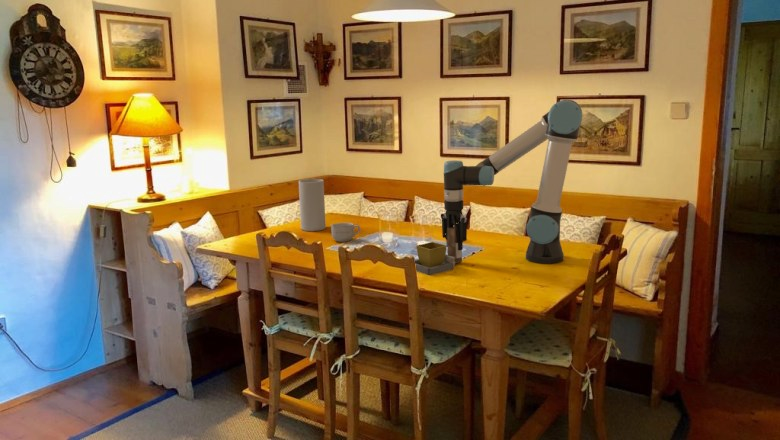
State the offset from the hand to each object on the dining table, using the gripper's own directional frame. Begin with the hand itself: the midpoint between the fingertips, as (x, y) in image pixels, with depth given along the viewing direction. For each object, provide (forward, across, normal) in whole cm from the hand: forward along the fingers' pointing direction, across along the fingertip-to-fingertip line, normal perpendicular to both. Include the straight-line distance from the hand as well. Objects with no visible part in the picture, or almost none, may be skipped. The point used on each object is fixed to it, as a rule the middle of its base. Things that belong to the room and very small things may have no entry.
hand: (454, 256), depth 260 cm
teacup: (+2, -63, -10) cm, 63 cm away
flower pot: (+3, -2, -11) cm, 12 cm away
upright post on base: (+2, 0, -2) cm, 3 cm away
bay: (+3, -1, -12) cm, 13 cm away
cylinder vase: (+2, -96, -8) cm, 96 cm away
